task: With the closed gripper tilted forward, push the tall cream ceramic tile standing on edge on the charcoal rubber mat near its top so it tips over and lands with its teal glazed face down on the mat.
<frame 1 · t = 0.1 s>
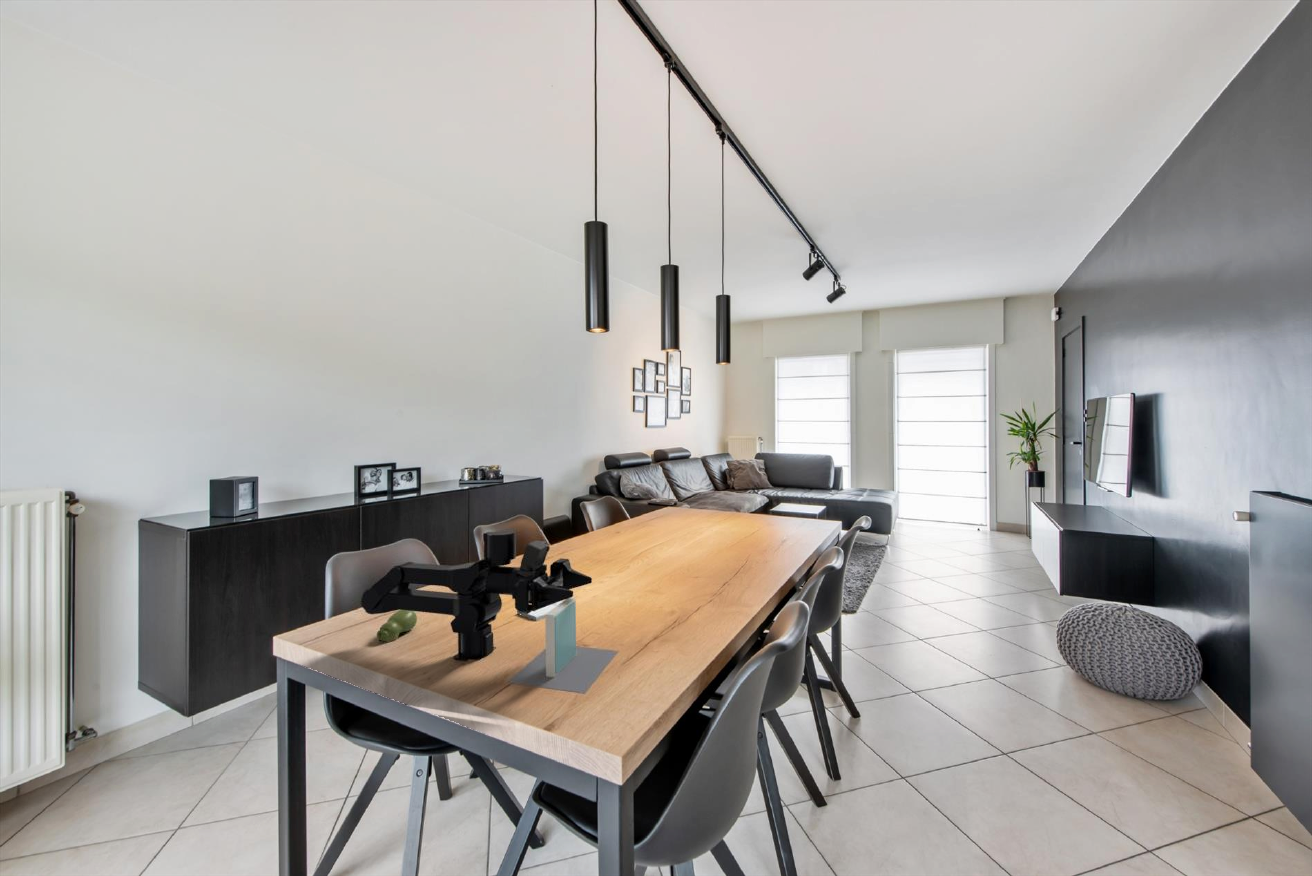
hand: (582, 586, 100), 17 cm above the table, tool horizontal, fingers open, 9 cm apart
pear: (397, 636, 119), on the table
mat: (566, 668, 100), on the table
external hard drive: (545, 613, 134), on the table
tile: (561, 665, 101), point 1 cm above the table, touching mat
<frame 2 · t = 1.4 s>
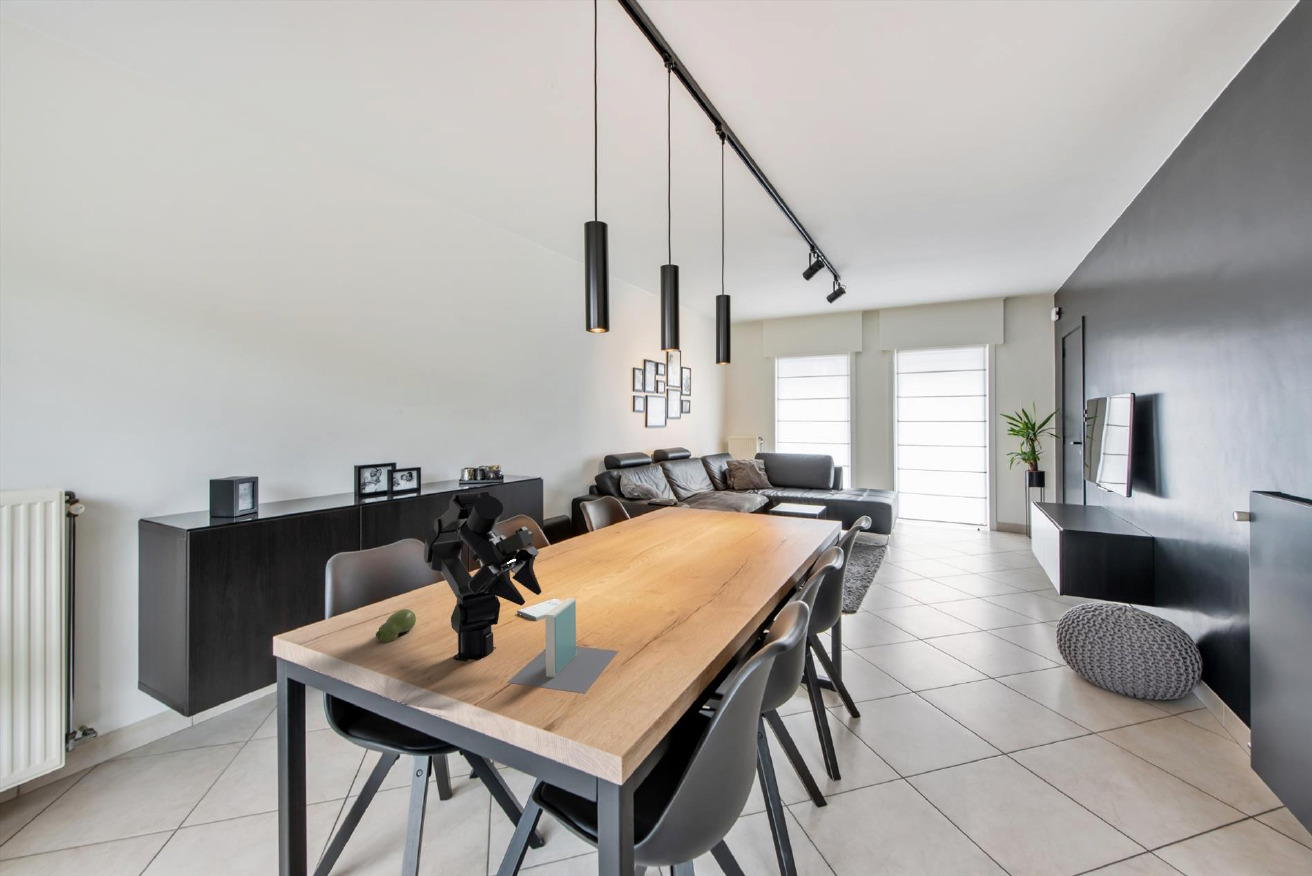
hand: (532, 598, 102), 14 cm above the table, tool tilted 45°, fingers open, 6 cm apart
nothing on the table moved.
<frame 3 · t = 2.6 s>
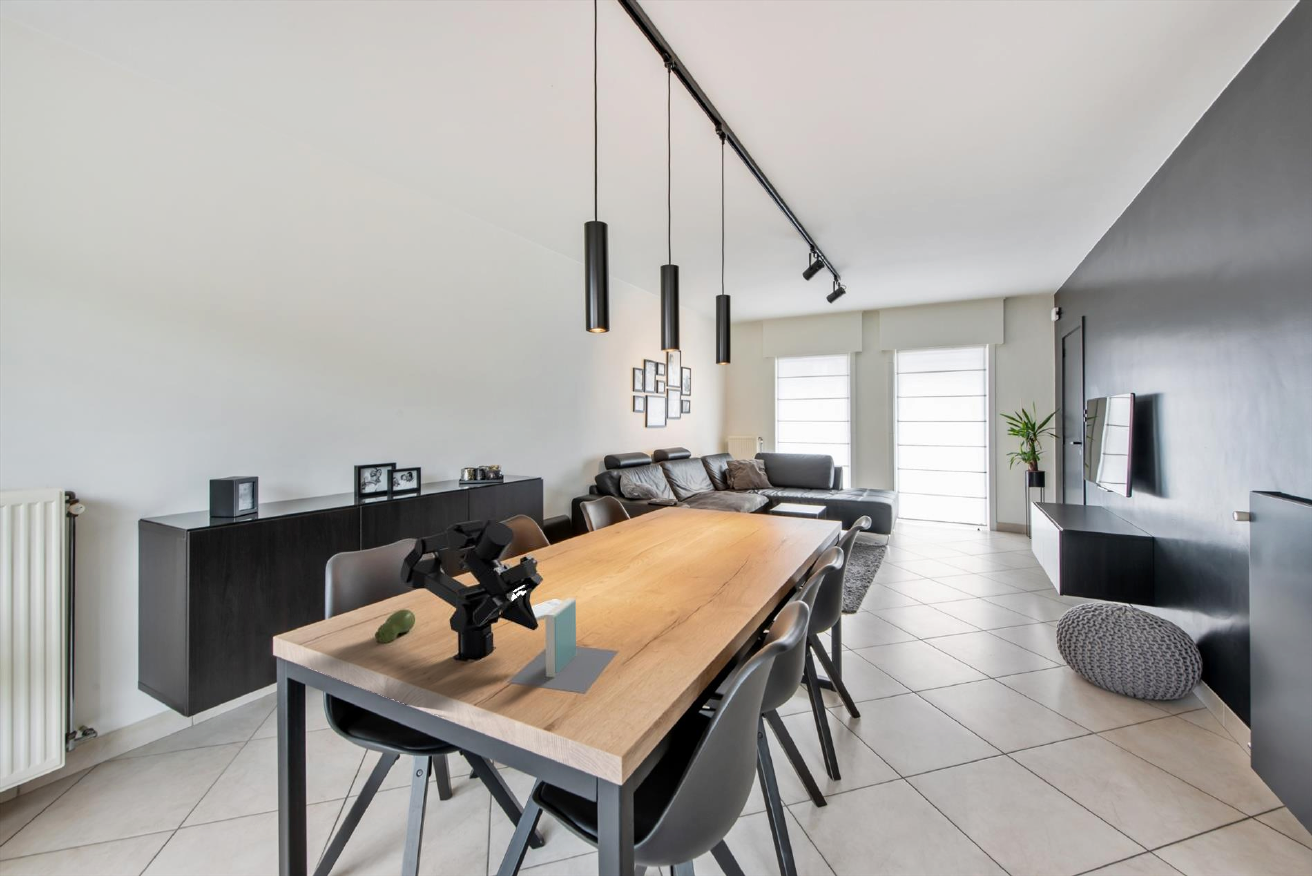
hand: (536, 628, 102), 8 cm above the table, tool tilted 45°, fingers closed
nothing on the table moved.
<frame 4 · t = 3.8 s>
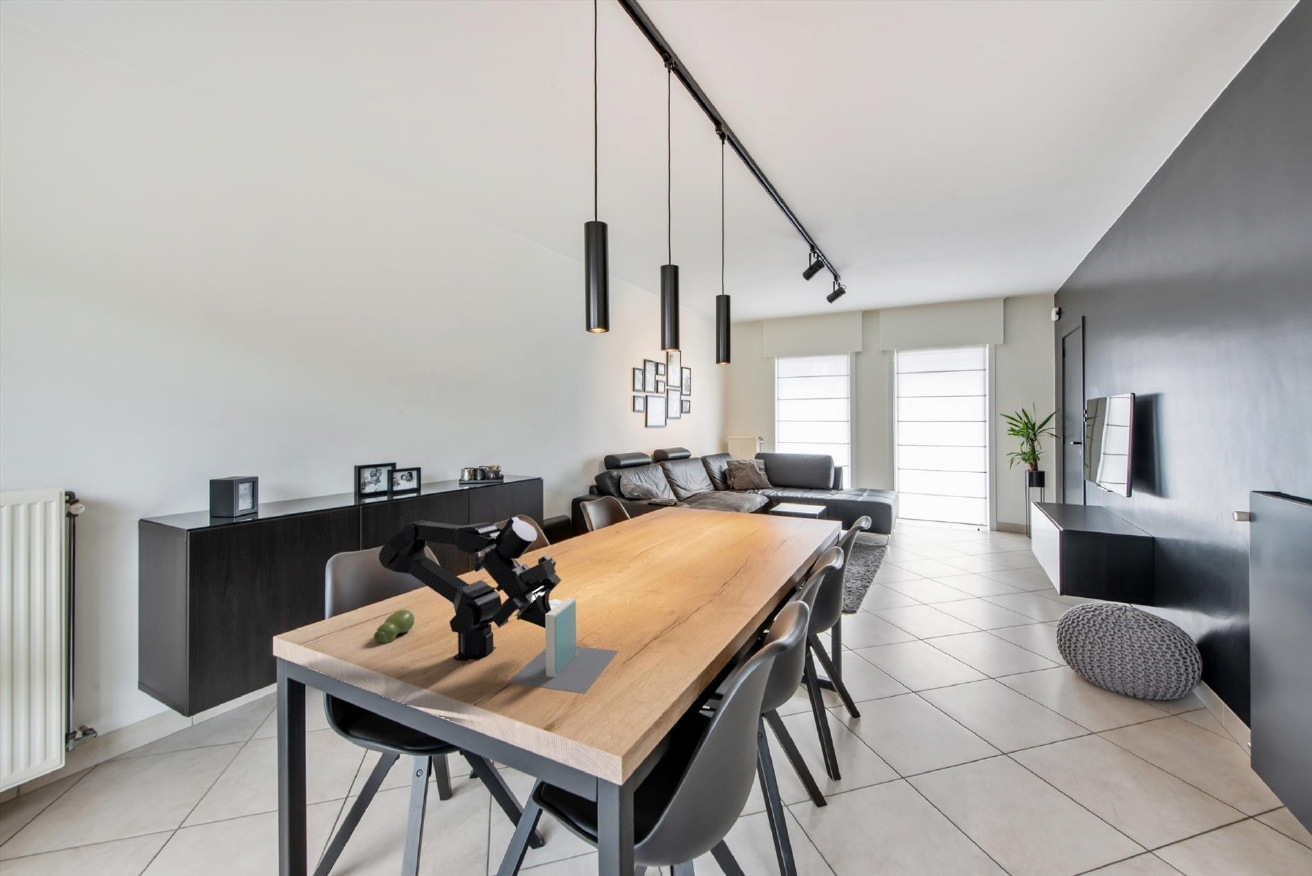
hand: (556, 629, 101), 8 cm above the table, tool tilted 45°, fingers closed, pressing on tile
tile: (561, 665, 101), point 1 cm above the table, touching gripper, mat
everything else where it was.
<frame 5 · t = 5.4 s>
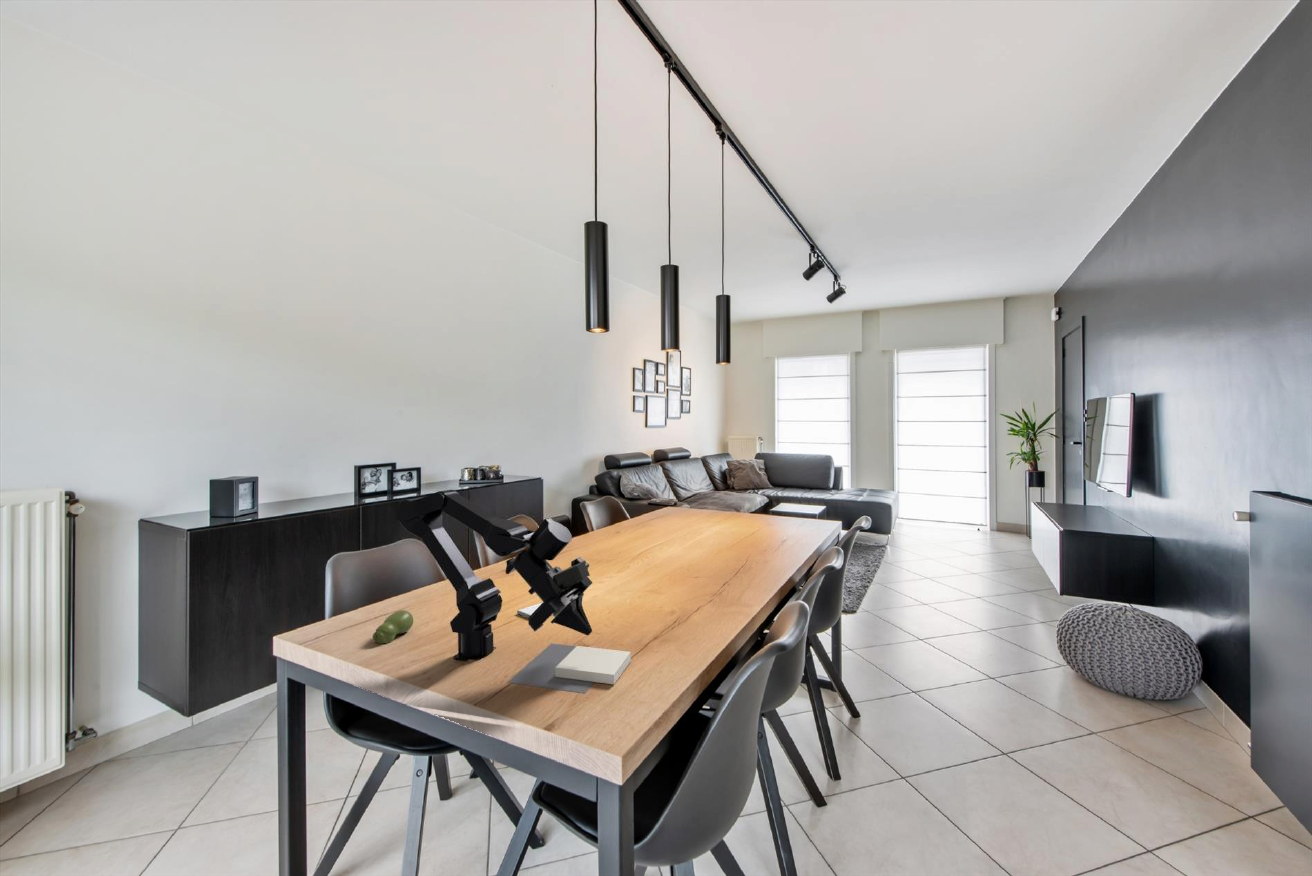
hand: (590, 633, 99), 8 cm above the table, tool tilted 45°, fingers closed
tile: (566, 660, 100), point 2 cm above the table, tilted 90°, touching mat
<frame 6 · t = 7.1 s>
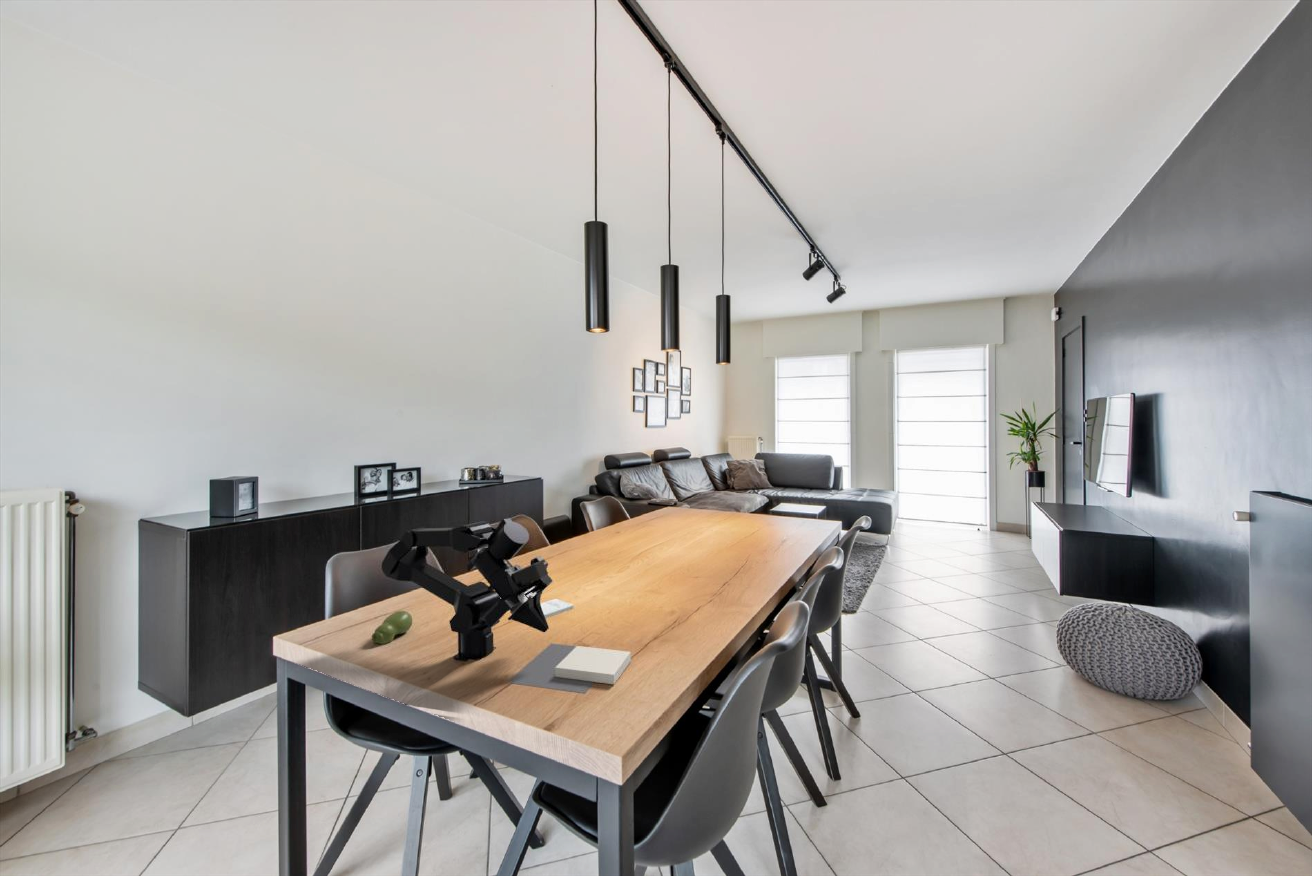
hand: (546, 630, 102), 7 cm above the table, tool tilted 45°, fingers closed
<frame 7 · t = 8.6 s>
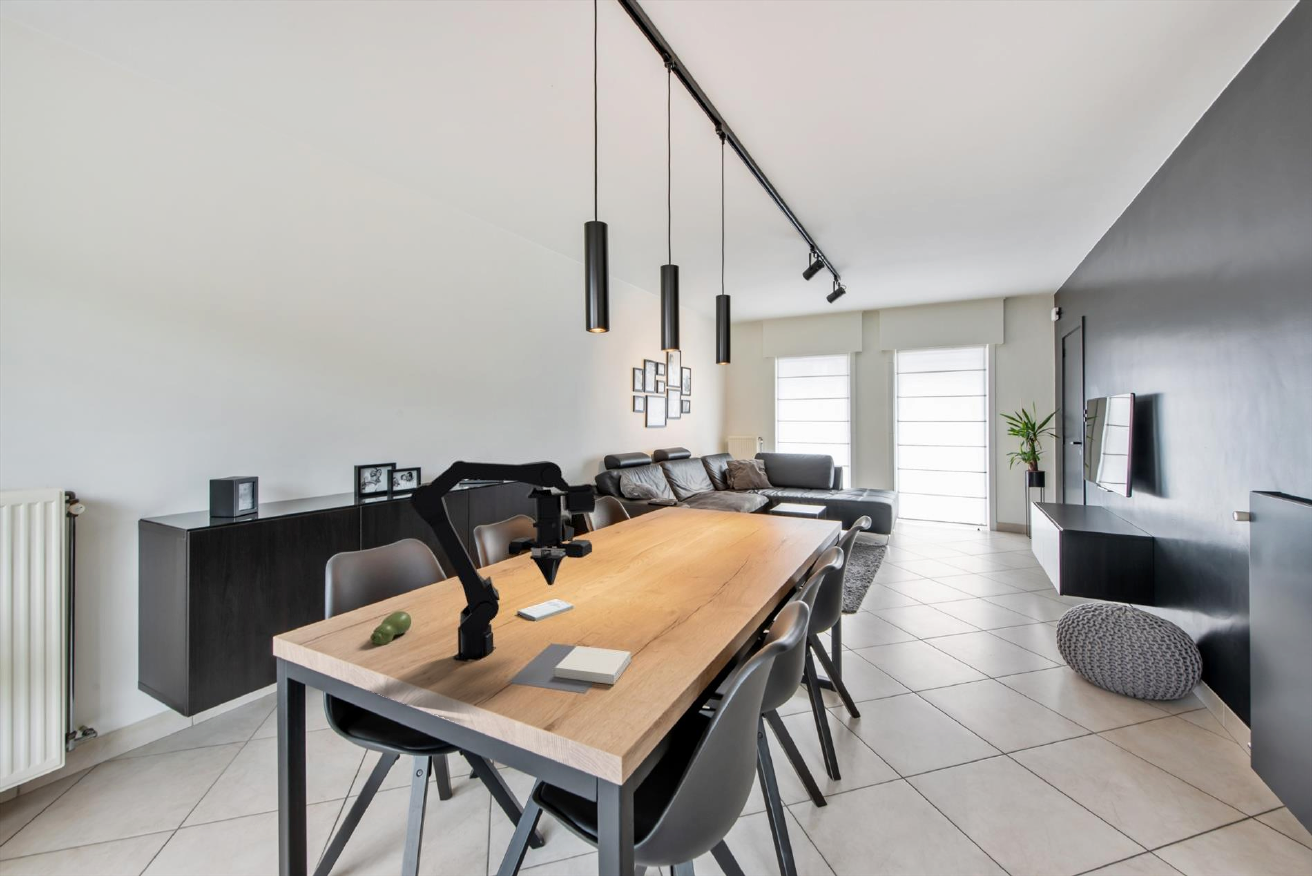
hand: (550, 584, 113), 13 cm above the table, tool pointing down, fingers closed
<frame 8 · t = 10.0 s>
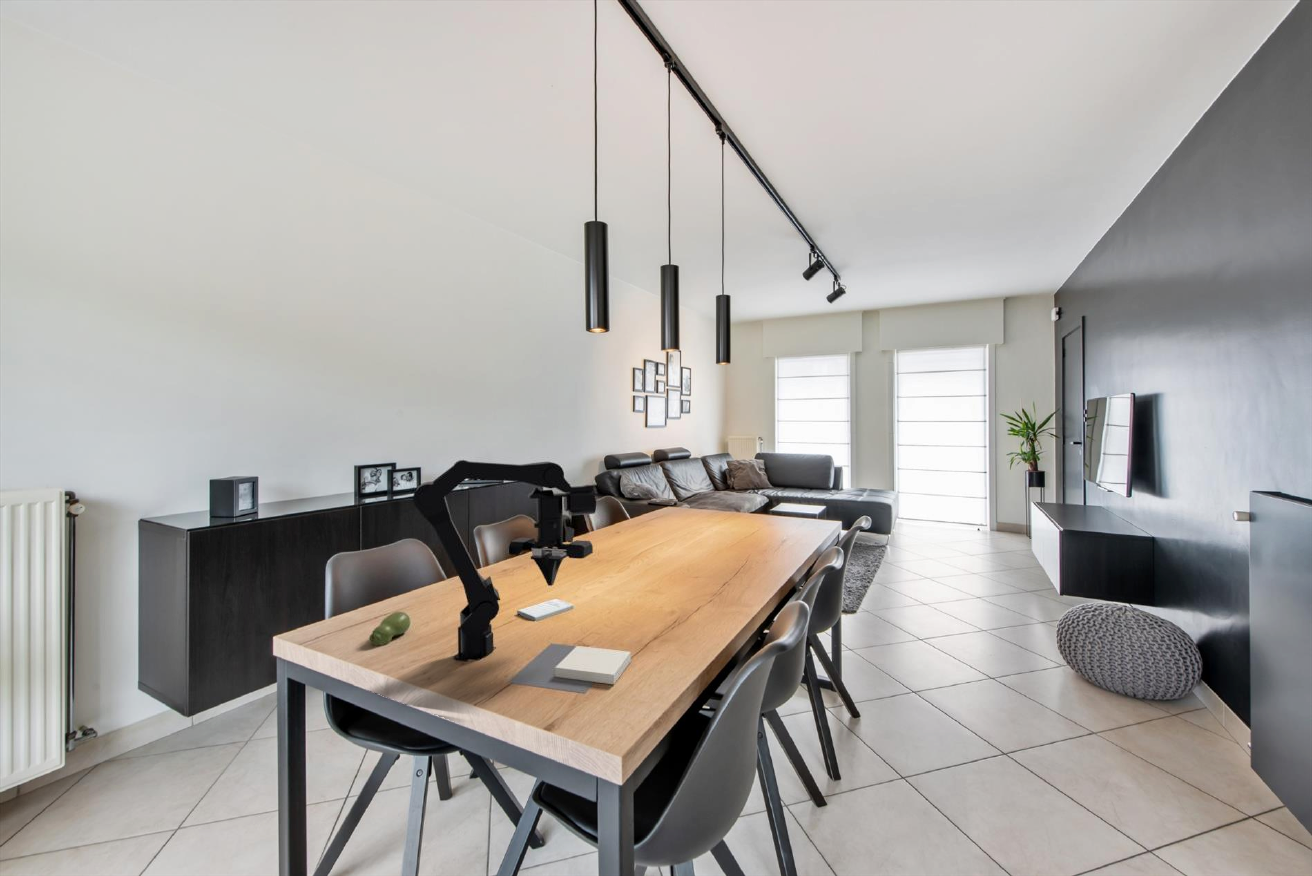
hand: (550, 585, 113), 13 cm above the table, tool pointing down, fingers closed
at the end: tile tilted 90°; tile inside the target area (1.9 cm from its centre), point 1.6 cm above the table; tile touching mat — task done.
